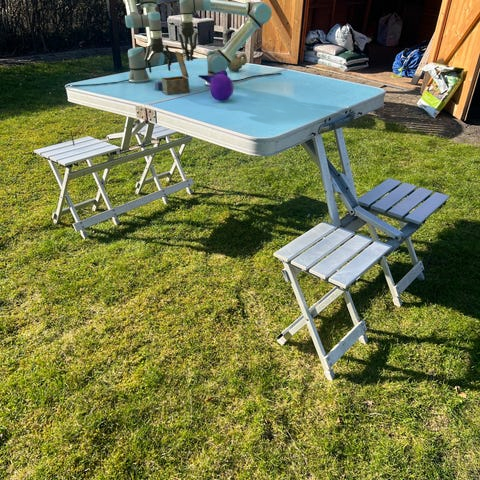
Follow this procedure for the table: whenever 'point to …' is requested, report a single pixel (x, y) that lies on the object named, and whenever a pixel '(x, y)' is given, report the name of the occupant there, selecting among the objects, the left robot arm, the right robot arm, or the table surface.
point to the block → (158, 86)
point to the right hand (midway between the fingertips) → (189, 60)
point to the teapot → (237, 62)
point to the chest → (175, 85)
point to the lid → (182, 62)
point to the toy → (219, 85)
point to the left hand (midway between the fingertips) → (160, 71)
